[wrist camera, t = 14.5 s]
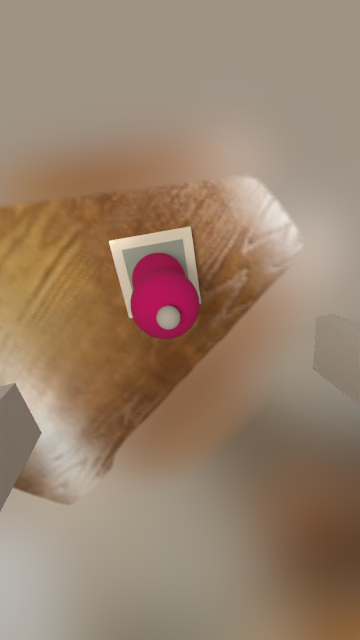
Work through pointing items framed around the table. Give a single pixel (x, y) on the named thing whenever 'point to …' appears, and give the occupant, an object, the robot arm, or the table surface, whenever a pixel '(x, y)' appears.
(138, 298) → the pepper mill
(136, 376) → the table surface
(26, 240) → the table surface
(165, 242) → the base
